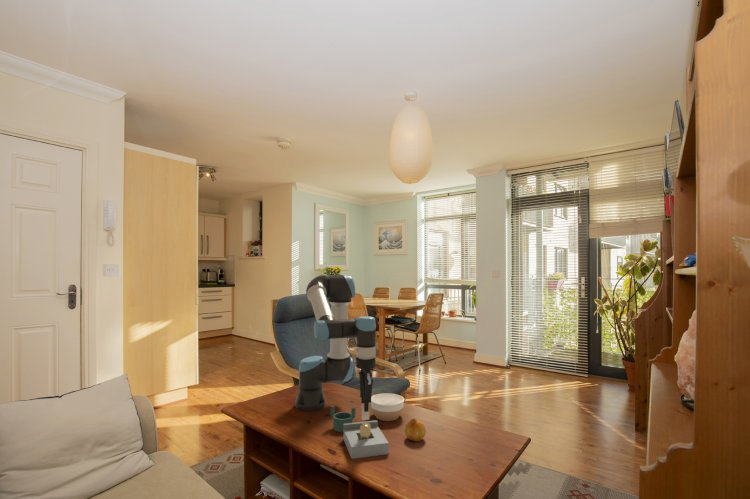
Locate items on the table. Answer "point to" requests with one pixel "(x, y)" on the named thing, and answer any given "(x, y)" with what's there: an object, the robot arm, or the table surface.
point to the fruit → (415, 430)
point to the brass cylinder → (365, 431)
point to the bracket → (342, 418)
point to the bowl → (387, 406)
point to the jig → (364, 440)
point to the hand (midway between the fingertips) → (365, 419)
